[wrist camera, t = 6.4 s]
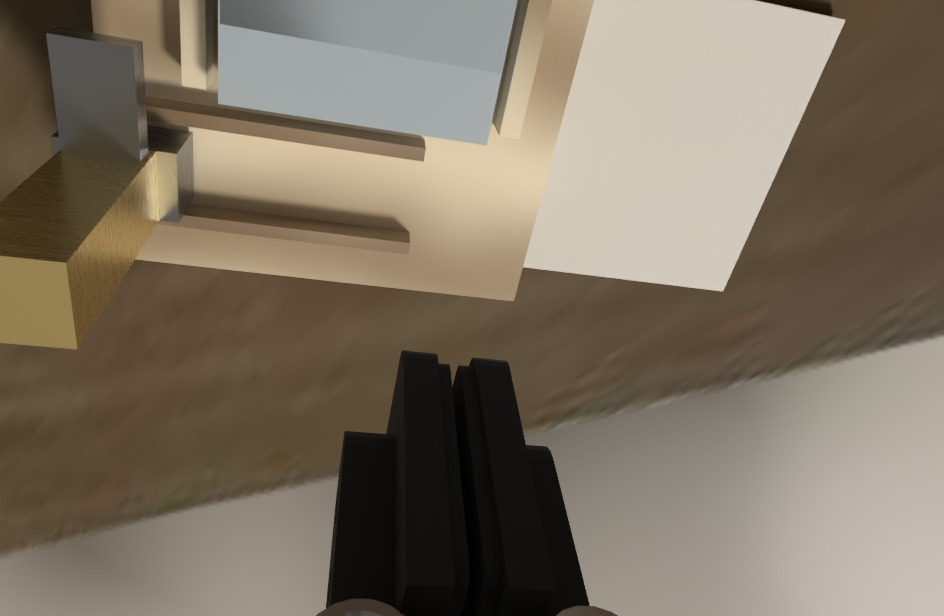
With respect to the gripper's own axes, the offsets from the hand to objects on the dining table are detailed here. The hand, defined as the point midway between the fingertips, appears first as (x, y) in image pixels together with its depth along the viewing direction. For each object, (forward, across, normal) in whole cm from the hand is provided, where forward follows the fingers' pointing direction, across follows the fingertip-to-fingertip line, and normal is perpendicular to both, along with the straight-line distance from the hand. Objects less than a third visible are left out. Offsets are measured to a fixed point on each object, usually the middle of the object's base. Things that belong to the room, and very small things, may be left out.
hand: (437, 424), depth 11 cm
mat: (+16, -10, 0) cm, 18 cm away
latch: (+11, +8, 0) cm, 14 cm away
